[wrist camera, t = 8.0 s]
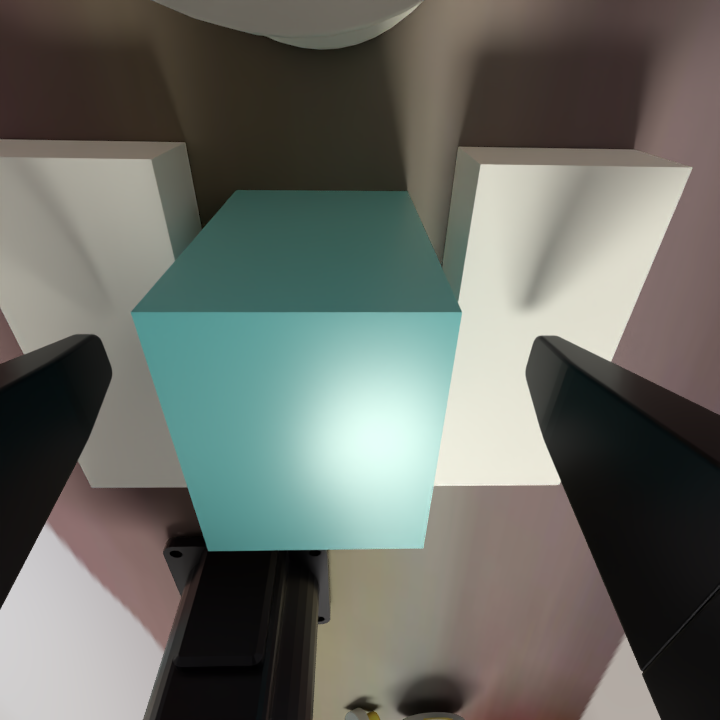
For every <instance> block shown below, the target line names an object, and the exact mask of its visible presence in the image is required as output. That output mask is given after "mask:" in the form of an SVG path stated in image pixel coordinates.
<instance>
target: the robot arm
mask: <svg viewBox="0 0 720 720" xmlns="http://www.w3.org/2000/svg"><path fill="white" fill-rule="evenodd" d="M525 376H526V381H527V385H528V388H529V392H530V395H531V399H532V402H533V406H534V409H535V413H536V416H537V420H538V423H539V427H540V430H541V433H542V436H543V439H544V442H545V444H546V447H547V449H548V452H549V454H550V456H551V459H552V461H553V464H554V466H555V468H556V471H557V473H558V475H559V478H560V480H561V483H562V485H563V487H564V490H565V492H566V494H567V497H568V499H569V502H570V504H571V506H572V509H573V511H574V513H575V516H576V518H577V520H578V523H579V525H580V528H581V530H582V532H583V535H584V537H585V539H586V542H587V544H588V547H589V549H590V551H591V554H592V556H593V558H594V561H595V563H596V566H597V568H598V570H599V573H600V575H601V577H602V580H603V582H604V584H605V587H606V589H607V592H608V594H609V596H610V599H611V601H612V603H613V606H614V608H615V611H616V613H617V615H618V618H619V620H620V622H621V625H622V627H623V630H624V632H625V634H626V637H627V638H628V641H629V644H630V646H631V648H632V651H633V653H634V656H635V658H636V660H637V663H638V665H639V667H640V669H641V671H643V673H642V675H643V678H644V680H645V683H646V685H647V687H648V690H649V692H650V694H651V697H652V699H653V702H654V704H655V706H656V709H657V711H658V713H659V716H660V718H661V720H720V415H718V414H716V413H714V412H712V411H710V410H708V409H706V408H704V407H702V406H700V405H698V404H696V403H694V402H692V401H690V400H688V399H686V398H684V397H682V396H679V395H677V394H675V393H673V392H671V391H669V390H667V389H665V388H663V387H661V386H659V385H657V384H655V383H653V382H651V381H649V380H647V379H645V378H643V377H641V376H639V375H637V374H635V373H632V372H630V371H628V370H626V369H624V368H622V367H620V366H618V365H616V364H614V363H612V362H610V361H608V360H606V359H604V358H602V357H600V356H598V355H596V354H594V353H592V352H590V351H588V350H586V349H583V348H581V347H579V346H577V345H575V344H573V343H571V342H569V341H567V340H565V339H563V338H561V337H559V336H555V335H541V336H538V337H536V338H535V340H534V342H533V345H532V348H531V352H530V355H529V359H528V362H527V365H526V371H525ZM111 379H112V367H111V364H110V361H109V359H108V356H107V353H106V351H105V348H104V345H103V343H102V341H101V339H100V338H99V337H98V336H97V335H95V334H74V335H72V336H69V337H67V338H64V339H62V340H59V341H57V342H54V343H52V344H49V345H47V346H44V347H42V348H39V349H37V350H34V351H32V352H29V353H27V354H24V355H22V356H19V357H17V358H14V359H12V360H9V361H7V362H5V363H2V364H0V609H1V607H2V605H3V603H4V601H5V599H6V598H7V595H8V593H9V592H10V590H11V588H12V586H13V584H14V582H15V580H16V578H17V576H18V574H19V573H20V571H21V569H22V567H23V565H24V563H25V561H26V559H27V557H28V555H29V553H30V551H31V550H32V547H33V546H34V544H35V542H36V540H37V538H38V536H39V534H40V532H41V530H42V528H43V526H44V525H45V523H46V521H47V519H48V517H49V515H50V513H51V511H52V509H53V507H54V505H55V503H56V501H57V500H58V498H59V496H60V494H61V492H62V490H63V488H64V486H65V484H66V482H67V480H68V478H69V476H70V475H71V473H72V471H73V469H74V467H75V465H76V463H77V461H78V459H79V457H80V455H81V453H82V452H83V450H84V447H85V445H86V443H87V441H88V439H89V437H90V434H91V432H92V430H93V427H94V424H95V422H96V419H97V416H98V414H99V411H100V409H101V406H102V403H103V401H104V398H105V395H106V393H107V390H108V387H109V385H110V382H111ZM163 555H164V557H165V559H166V562H167V564H168V566H169V569H170V571H171V574H172V576H173V578H174V581H175V583H176V586H177V588H178V590H179V593H180V595H181V600H180V603H179V606H178V609H177V613H176V616H175V619H174V622H173V625H172V629H171V632H170V635H169V638H168V641H167V645H166V648H165V651H164V654H163V658H162V661H161V664H160V667H159V670H158V674H157V677H156V680H155V683H154V687H153V690H152V693H151V696H150V699H149V702H148V706H147V709H146V712H145V715H144V719H143V720H313V702H314V683H315V665H316V646H317V628H318V624H325V623H327V622H329V621H330V588H329V565H328V550H261V551H208V549H207V546H206V543H205V540H204V537H191V538H171V539H169V540H168V541H167V543H166V545H165V548H164V551H163Z"/></svg>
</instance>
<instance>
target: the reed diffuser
mask: <svg viewBox="0 0 720 720" xmlns="http://www.w3.org/2000/svg"><path fill="white" fill-rule="evenodd" d="M345 720H380V718H379V716H378V714H377V713H376V712H374V711H372V712H369V713H367V714H366V712H365V711H364V710H363V709H361V708H356V709H354V710H352V711H350V712H348V713H347V714H346V716H345ZM403 720H464V719H463V718H462V717H461V716H459V715H456V714H452V713H445V712H429V713H421V714H416V715H412V716H409V717H407V718H405V719H403Z"/></svg>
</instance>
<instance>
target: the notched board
mask: <svg viewBox="0 0 720 720" xmlns="http://www.w3.org/2000/svg"><path fill="white" fill-rule="evenodd" d="M692 168H693V167H689V166H686V165H683V164H680V163H677V162H673V161H670V160H667V159H664V158H660V157H657V156H654V155H651V154H647V153H644V152H641V151H638V150H633V149H571V148H509V147H458V151H457V158H456V166H455V174H454V181H453V189H452V196H451V204H450V211H449V219H448V226H447V234H446V241H445V249H444V257H443V264H442V269H443V271H444V273H445V275H446V278H447V280H448V282H449V284H450V286H451V289H452V291H453V293H454V295H455V298H456V300H457V302H458V304H459V306H460V309H461V311H462V316H461V322H460V329H459V335H458V341H457V347H456V353H455V359H454V365H453V371H452V377H451V383H450V389H449V395H448V401H447V408H446V414H445V420H444V426H443V432H442V438H441V444H440V450H439V456H438V462H437V468H436V474H435V480H434V486H479V485H559V484H560V481H561V480H560V478H559V475H558V473H557V471H556V468H555V466H554V464H553V461H552V459H551V456H550V454H549V452H548V449H547V447H546V444H545V442H544V439H543V436H542V433H541V430H540V427H539V423H538V420H537V416H536V413H535V409H534V406H533V402H532V399H531V395H530V392H529V388H528V385H527V381H526V376H525V371H526V365H527V362H528V359H529V355H530V352H531V348H532V345H533V342H534V340H535V338H536V337H538V336H541V335H555V336H559V337H561V338H563V339H565V340H567V341H569V342H571V343H573V344H575V345H577V346H579V347H581V348H583V349H586V350H588V351H590V352H592V353H594V354H596V355H598V356H600V357H602V358H604V359H606V360H608V361H610V362H611V360H612V358H613V355H614V353H615V351H616V348H617V346H618V344H619V341H620V339H621V336H622V334H623V332H624V329H625V327H626V325H627V322H628V320H629V317H630V315H631V313H632V310H633V308H634V306H635V303H636V301H637V298H638V296H639V294H640V291H641V289H642V287H643V284H644V282H645V279H646V277H647V275H648V272H649V270H650V268H651V265H652V263H653V260H654V258H655V256H656V253H657V251H658V249H659V246H660V244H661V241H662V239H663V237H664V234H665V232H666V230H667V227H668V225H669V222H670V220H671V218H672V215H673V213H674V211H675V208H676V206H677V203H678V201H679V199H680V196H681V194H682V192H683V189H684V187H685V184H686V182H687V180H688V177H689V175H690V173H691V170H692ZM201 230H202V227H201V222H200V217H199V212H198V206H197V201H196V196H195V190H194V185H193V180H192V175H191V169H190V164H189V159H188V154H187V148H186V143H185V142H137V141H75V140H13V139H0V308H1V310H2V312H3V314H4V316H5V318H6V320H7V322H8V324H9V326H10V328H11V330H12V332H13V334H14V336H15V338H16V340H17V342H18V344H19V346H20V348H21V350H22V351H23V353H24V354H27V353H29V352H32V351H34V350H37V349H39V348H42V347H44V346H47V345H49V344H52V343H54V342H57V341H59V340H62V339H64V338H67V337H69V336H72V335H74V334H95V335H97V336H98V337H99V338H100V339H101V341H102V343H103V345H104V348H105V351H106V353H107V356H108V359H109V361H110V364H111V367H112V379H111V382H110V385H109V387H108V390H107V393H106V395H105V398H104V401H103V403H102V406H101V409H100V411H99V414H98V416H97V419H96V422H95V424H94V427H93V430H92V432H91V434H90V437H89V439H88V441H87V443H86V445H85V447H84V450H83V452H82V453H81V455H80V457H79V459H78V462H79V464H80V466H81V468H82V470H83V472H84V474H85V476H86V478H87V480H88V482H89V484H90V486H91V488H158V487H187V484H186V481H185V478H184V475H183V472H182V469H181V466H180V463H179V460H178V456H177V453H176V450H175V447H174V444H173V441H172V438H171V435H170V432H169V429H168V426H167V423H166V420H165V417H164V413H163V410H162V407H161V404H160V401H159V398H158V395H157V392H156V389H155V386H154V383H153V380H152V377H151V373H150V370H149V367H148V364H147V361H146V358H145V355H144V352H143V349H142V346H141V343H140V340H139V337H138V333H137V330H136V327H135V324H134V321H133V318H132V315H131V311H132V310H133V309H134V308H135V307H136V305H137V304H138V303H139V302H140V301H141V300H142V298H143V297H144V296H145V295H146V294H147V293H148V292H149V290H150V289H151V288H152V287H153V286H154V285H155V283H156V282H157V281H158V280H159V279H160V278H161V276H162V275H163V274H164V273H165V272H166V271H167V270H168V268H169V267H170V266H171V265H172V264H173V263H174V261H175V260H176V259H177V258H178V257H179V256H180V255H181V253H182V252H183V251H184V250H185V249H186V248H187V246H188V245H189V244H190V243H191V242H192V241H193V240H194V238H195V237H196V236H197V235H198V234H199V233H200V231H201Z"/></svg>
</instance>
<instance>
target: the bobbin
mask: <svg viewBox="0 0 720 720" xmlns="http://www.w3.org/2000/svg"><path fill="white" fill-rule="evenodd" d="M152 1H154V2H156V3H159V4H161V5H164V6H166V7H168V8H171V9H173V10H175V11H178V12H180V13H182V14H185V15H187V16H190V17H192V18H195V19H198V20H202V21H206V22H209V23H213V24H216V25H220V26H224V27H228V28H232V29H235V30H239V31H243V32H247V33H250V34H254V35H262V36H266V37H269V38H271V39H273V40H276V41H278V42H282V43H285V44H289V45H293V46H297V47H300V48H308V49H318V50H324V49H339V48H344V47H348V46H353V45H357V44H360V43H362V42H365V41H367V40H370V39H372V38H375V37H377V36H378V35H380V34H382V33H383V32H385V31H387V30H389V29H390V28H392V27H393V26H395V25H396V24H397V23H398V22H400V21H401V20H402V19H404V18H405V17H406V16H407V15H409V14H410V13H411V12H412V11H414V10H415V9H416V8H417V7H418V6H419V5H420V3H421V2H423V1H424V0H152Z"/></svg>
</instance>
